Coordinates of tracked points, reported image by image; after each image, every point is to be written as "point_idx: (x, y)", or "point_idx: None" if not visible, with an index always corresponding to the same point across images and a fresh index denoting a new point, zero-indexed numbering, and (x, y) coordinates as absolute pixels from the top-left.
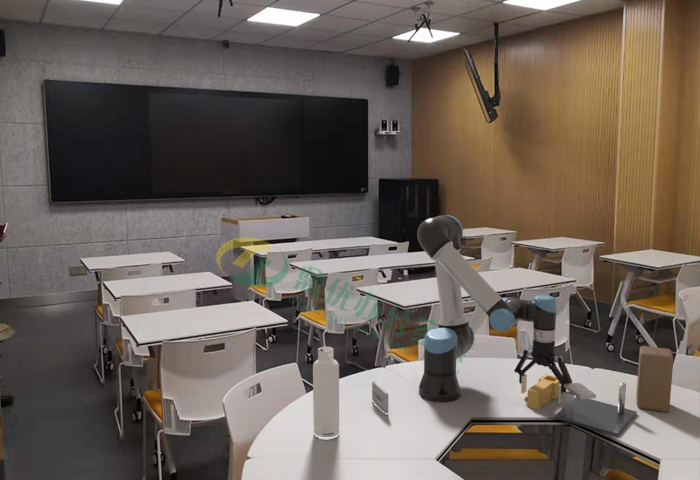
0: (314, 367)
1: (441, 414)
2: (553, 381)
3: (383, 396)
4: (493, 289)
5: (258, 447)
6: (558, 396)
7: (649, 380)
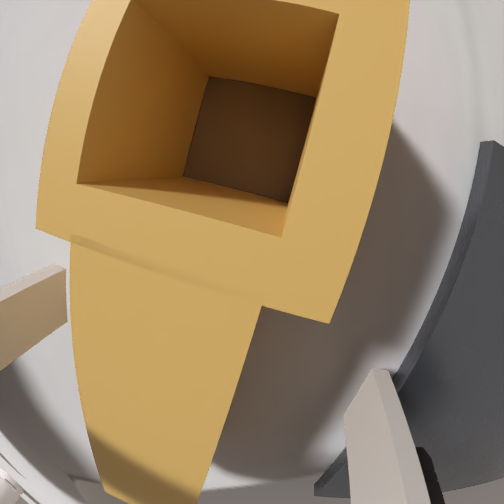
0: None
1: (26, 456)
2: (255, 34)
3: None
4: None
5: None
6: (348, 459)
7: None
